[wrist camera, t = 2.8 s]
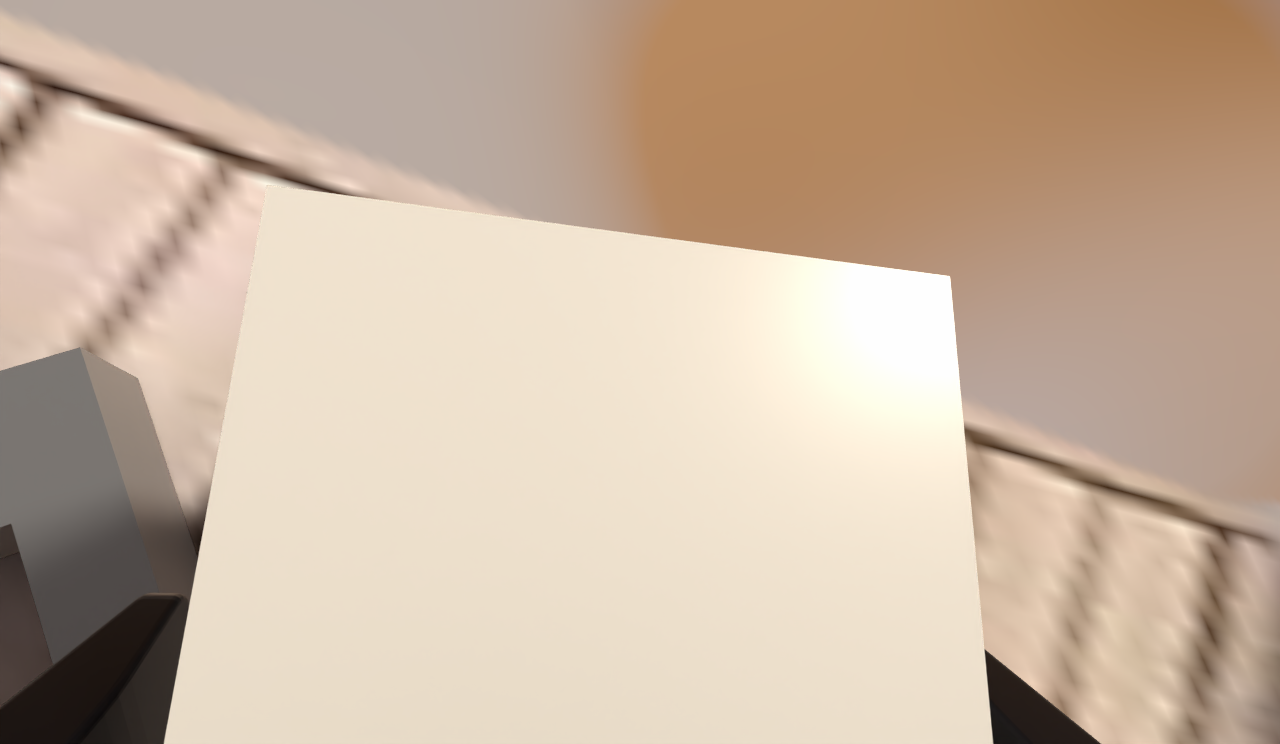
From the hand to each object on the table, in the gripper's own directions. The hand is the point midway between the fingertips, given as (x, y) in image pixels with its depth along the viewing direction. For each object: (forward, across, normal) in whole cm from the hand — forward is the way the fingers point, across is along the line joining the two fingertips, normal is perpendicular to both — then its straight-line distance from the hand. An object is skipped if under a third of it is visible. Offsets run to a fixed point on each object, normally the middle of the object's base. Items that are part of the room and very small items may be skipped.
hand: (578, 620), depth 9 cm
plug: (+6, 0, +6) cm, 8 cm away
